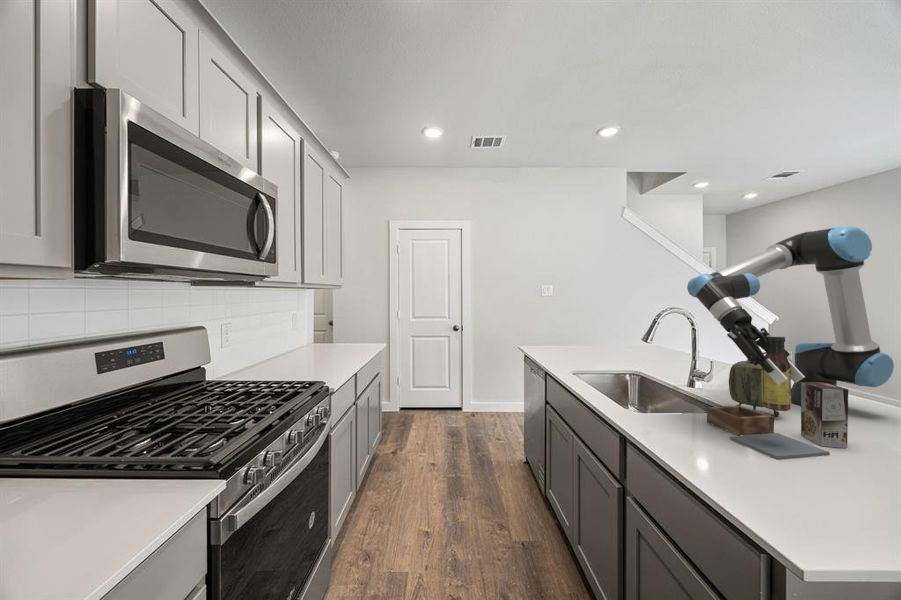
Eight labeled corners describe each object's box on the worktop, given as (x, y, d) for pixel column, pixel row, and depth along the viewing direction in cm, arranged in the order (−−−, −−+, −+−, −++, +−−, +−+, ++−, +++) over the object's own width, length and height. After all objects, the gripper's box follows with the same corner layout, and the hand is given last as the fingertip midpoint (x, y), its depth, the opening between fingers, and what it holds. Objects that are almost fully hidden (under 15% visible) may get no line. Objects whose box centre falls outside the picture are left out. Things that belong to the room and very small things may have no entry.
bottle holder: (738, 420, 132) (739, 405, 132) (773, 433, 120) (774, 416, 120) (706, 422, 130) (706, 407, 130) (739, 435, 118) (739, 418, 118)
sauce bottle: (796, 412, 106) (797, 337, 105) (769, 411, 107) (770, 337, 106) (781, 405, 112) (782, 334, 111) (756, 404, 113) (757, 334, 113)
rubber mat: (777, 435, 118) (777, 433, 118) (829, 455, 104) (829, 451, 104) (730, 439, 115) (730, 436, 115) (777, 459, 101) (777, 456, 101)
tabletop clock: (784, 416, 136) (785, 343, 135) (780, 422, 130) (781, 345, 129) (733, 407, 146) (734, 339, 146) (727, 412, 140) (727, 341, 140)
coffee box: (848, 448, 108) (850, 389, 108) (821, 446, 110) (822, 388, 109) (824, 436, 117) (825, 381, 117) (799, 435, 119) (800, 380, 118)
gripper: (744, 322, 127) (803, 385, 112) (699, 324, 120) (755, 391, 105) (762, 306, 121) (826, 370, 106) (716, 307, 115) (778, 375, 100)
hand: (791, 380), depth 106 cm, fingers closed on sauce bottle, 6 cm apart
